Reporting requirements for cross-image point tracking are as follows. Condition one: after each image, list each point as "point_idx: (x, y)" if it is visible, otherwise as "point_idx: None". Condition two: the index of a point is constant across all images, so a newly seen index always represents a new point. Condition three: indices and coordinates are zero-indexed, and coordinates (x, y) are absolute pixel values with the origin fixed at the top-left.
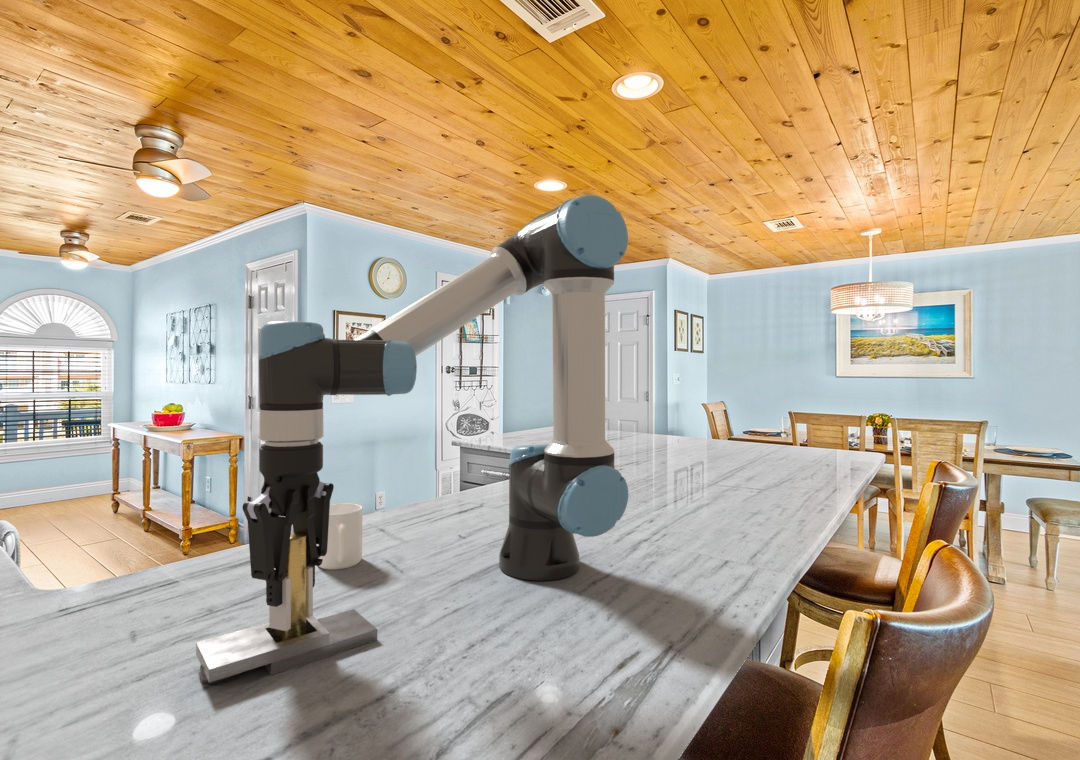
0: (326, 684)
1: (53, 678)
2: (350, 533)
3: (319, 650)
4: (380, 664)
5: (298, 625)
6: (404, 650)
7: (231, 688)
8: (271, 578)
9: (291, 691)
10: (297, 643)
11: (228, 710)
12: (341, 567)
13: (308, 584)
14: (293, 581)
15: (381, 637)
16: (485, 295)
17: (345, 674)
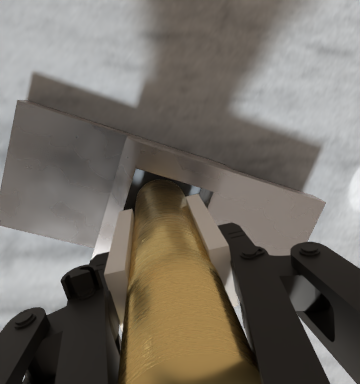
0: (194, 54)
1: None
2: None
3: (147, 141)
4: (88, 13)
5: (167, 195)
6: (15, 8)
7: (275, 182)
8: (303, 244)
9: (238, 91)
10: (190, 159)
11: (313, 131)
12: None
13: (128, 244)
14: (192, 245)
15: (13, 102)
16: None
17: (153, 50)
